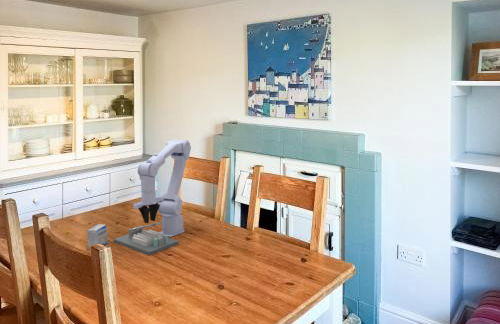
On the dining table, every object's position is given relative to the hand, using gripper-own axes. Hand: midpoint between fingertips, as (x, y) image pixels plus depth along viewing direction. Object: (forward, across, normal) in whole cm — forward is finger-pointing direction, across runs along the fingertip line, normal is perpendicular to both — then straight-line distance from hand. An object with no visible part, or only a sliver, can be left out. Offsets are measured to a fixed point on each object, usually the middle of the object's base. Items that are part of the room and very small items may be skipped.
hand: (149, 221), depth 183 cm
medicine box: (+11, -15, +16) cm, 24 cm away
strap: (+3, 0, +2) cm, 4 cm away
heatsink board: (+10, 0, +3) cm, 11 cm away
